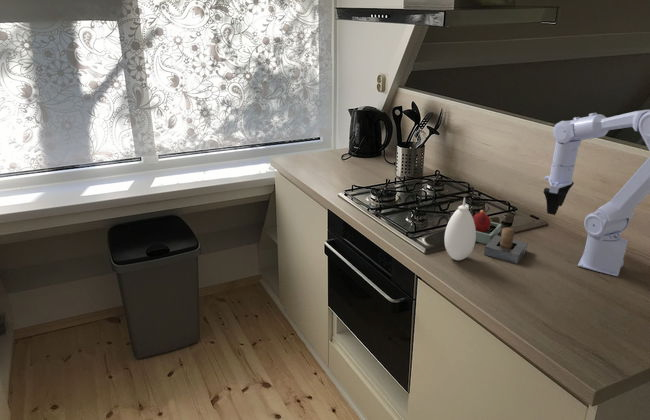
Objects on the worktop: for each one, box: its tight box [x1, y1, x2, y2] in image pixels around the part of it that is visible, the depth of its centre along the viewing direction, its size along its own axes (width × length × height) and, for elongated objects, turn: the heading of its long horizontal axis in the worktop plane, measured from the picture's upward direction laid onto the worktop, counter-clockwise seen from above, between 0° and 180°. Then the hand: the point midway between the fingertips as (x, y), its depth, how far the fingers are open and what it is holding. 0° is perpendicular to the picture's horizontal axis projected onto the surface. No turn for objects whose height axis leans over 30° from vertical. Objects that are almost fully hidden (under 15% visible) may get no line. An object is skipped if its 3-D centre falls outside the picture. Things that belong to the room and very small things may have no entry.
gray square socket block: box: [483, 235, 529, 265], centre depth 142 cm, size 9×9×2 cm
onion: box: [472, 209, 492, 233], centre depth 151 cm, size 6×6×8 cm
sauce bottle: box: [444, 197, 476, 261], centre depth 135 cm, size 8×8×18 cm
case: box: [475, 221, 502, 245], centre depth 152 cm, size 10×10×3 cm
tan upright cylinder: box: [500, 227, 515, 250], centre depth 141 cm, size 3×3×7 cm
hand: (554, 209), depth 145 cm, fingers open, 7 cm apart
